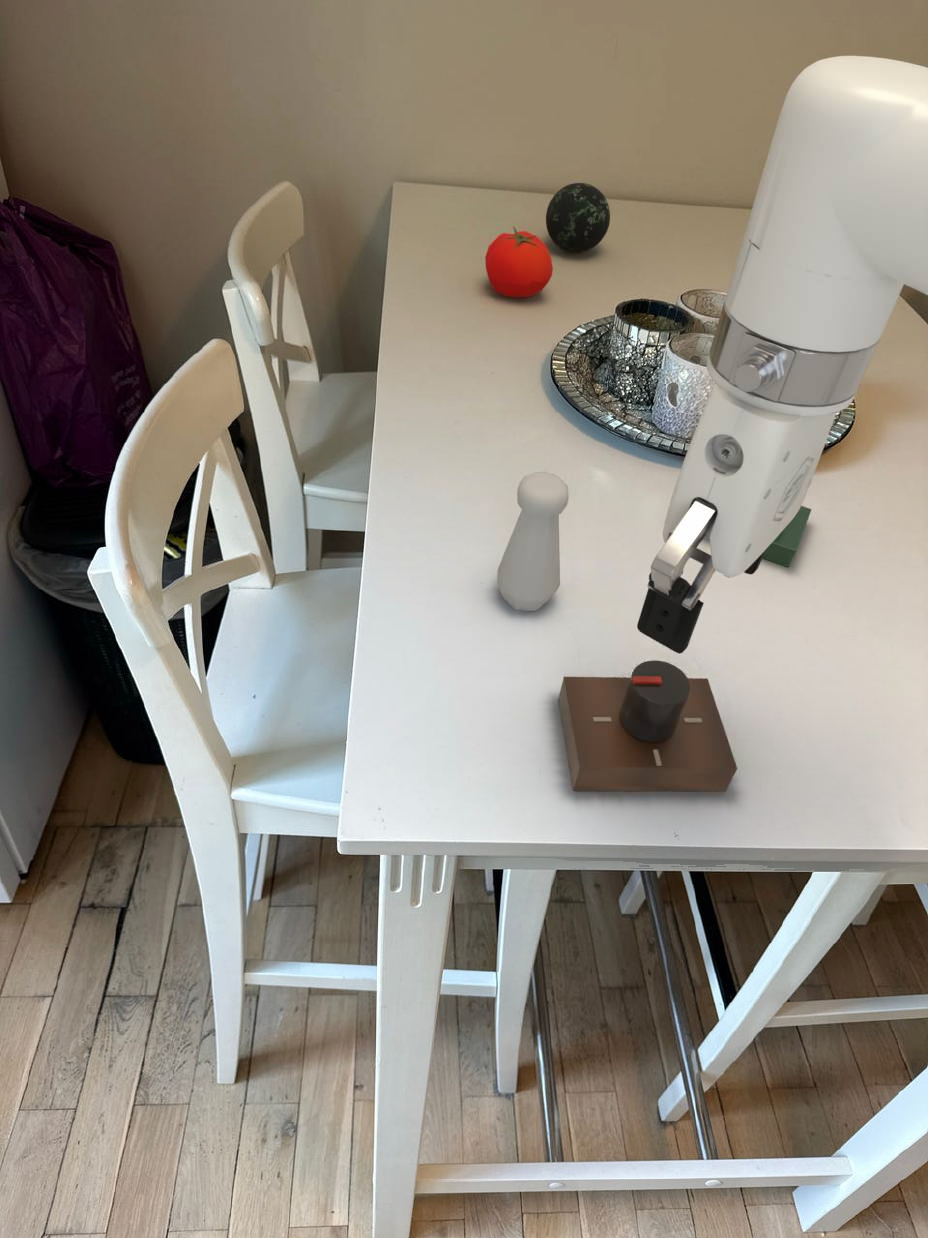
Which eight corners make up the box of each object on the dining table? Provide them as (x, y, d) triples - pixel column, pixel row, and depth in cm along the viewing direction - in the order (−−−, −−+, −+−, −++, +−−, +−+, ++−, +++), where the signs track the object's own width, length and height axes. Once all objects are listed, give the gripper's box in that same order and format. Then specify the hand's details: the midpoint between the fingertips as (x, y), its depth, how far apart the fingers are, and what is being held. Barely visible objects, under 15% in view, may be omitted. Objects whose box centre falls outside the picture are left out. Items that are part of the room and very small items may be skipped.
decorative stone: (603, 242, 145) (615, 177, 138) (603, 266, 138) (616, 199, 131) (542, 234, 145) (551, 170, 138) (540, 258, 138) (549, 191, 131)
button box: (804, 525, 93) (818, 494, 90) (788, 567, 88) (802, 536, 85) (713, 494, 96) (723, 463, 93) (692, 533, 91) (703, 502, 88)
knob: (668, 698, 70) (684, 657, 67) (681, 743, 67) (698, 702, 64) (614, 698, 70) (627, 656, 66) (624, 742, 67) (638, 701, 63)
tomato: (503, 272, 133) (509, 215, 127) (561, 293, 130) (570, 235, 124) (468, 291, 127) (473, 232, 122) (528, 314, 124) (537, 254, 118)
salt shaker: (557, 620, 80) (582, 506, 71) (494, 616, 80) (511, 500, 71) (553, 578, 84) (576, 464, 75) (494, 573, 84) (510, 459, 75)
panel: (698, 701, 74) (708, 676, 72) (726, 791, 68) (738, 767, 66) (557, 700, 73) (563, 674, 71) (573, 791, 67) (580, 766, 65)
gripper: (788, 450, 37) (685, 708, 49) (918, 323, 48) (807, 562, 60) (636, 384, 40) (574, 642, 52) (789, 278, 51) (708, 514, 63)
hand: (698, 599), depth 56 cm, fingers open, 9 cm apart
